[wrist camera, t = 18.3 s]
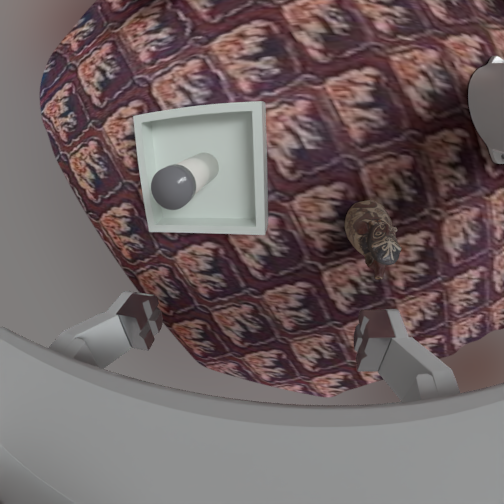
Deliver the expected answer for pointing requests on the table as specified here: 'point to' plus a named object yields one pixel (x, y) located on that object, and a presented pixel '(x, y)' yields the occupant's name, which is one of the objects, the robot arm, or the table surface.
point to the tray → (227, 155)
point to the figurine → (372, 235)
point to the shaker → (183, 180)
